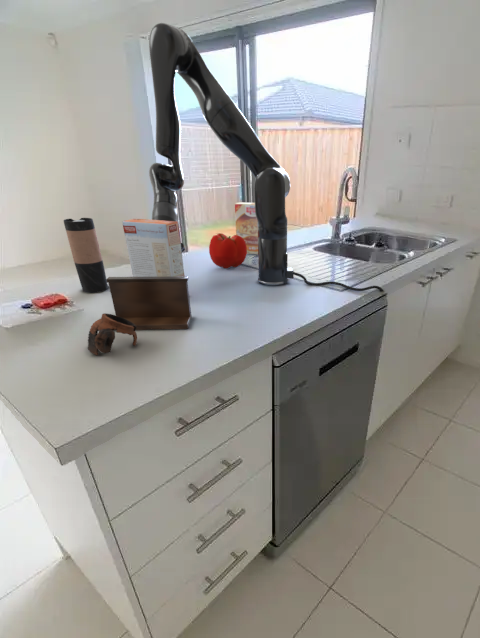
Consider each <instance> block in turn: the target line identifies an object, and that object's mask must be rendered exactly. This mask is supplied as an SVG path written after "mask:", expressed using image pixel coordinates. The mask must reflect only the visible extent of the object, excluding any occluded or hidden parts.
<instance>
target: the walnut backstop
mask: <svg viewBox="0 0 480 638" xmlns="http://www.w3.org/2000/svg"><path fill="white" fill-rule="evenodd" d="M106 280H107V284H108V289H109V292H110V297H111V301H112V305H113V309H114V313H115V314H114V315H116V316H119V317H122V318H124V319H126V320H128V321H130V322H132V323H134V324H135V325H136V326H137V328H136V330H135V331H144V330H145V331H146V330H148V331H149V330H151V331H152V330H153V331H155V330H188V329H189V328H190V325H191V321H192V318H193V316H192V309H191V308H192V307H191V299H190V292H189V283H188V282H189V276H188V275H185V276H164V277H133V276H109V277H106Z"/></svg>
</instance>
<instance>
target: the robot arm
mask: <svg viewBox="0 0 480 638" xmlns="http://www.w3.org/2000/svg"><path fill="white" fill-rule="evenodd" d="M148 38H149V40H148V49H149V58H150V59H149V60H150V67H151V75H152V85H153V86H152V87H153V94H154V95H153V96H154V103H155V104H154V105H155V106H154V107H155V151H156V153H157V154H158V155H160V156H162V157H164V158H166V159H167V160H169V161H170V162H171V163H172V165H170V164H165V163H161V162H153V163H152V164H151V165H150V166H149V169H148V177H149V181H150V184H151V187H152V191H153V192H152V193H153V206H152V213H151V220H163V221H177V222H178V223H179V221H178V217H179V216H178V195H177V193H176V192H179V191H181V190H182V189H183V188H184V186H185V185H184V184H185V177H184V173H183V167H182V161H181V137H182V136H181V135H182V134H181V133H182V131H181V130H182V127H181V120H180V115H179V110H178V105H177V102H176V95H175V79H176V73H177V74H178V75H179V77H181V78H182V79H183V81H184V82H185V83H186V85H187V86H188V87H189V88H190V89H191V90H192V92H193V94H194V96H195V97H196V99H197V102H198V105H199V108H200V111H201V113H202V116H203V118H204V120H205V122H206V123H207V125H208V126H209V128H210V129H211V131H212V132H213V133H214V135H215V136H216V137H217V139H218V140H219V141H220V142H221V143H222V144H223V145H224V146H225V148H226V149H227V150H229V151H230V152H231V153H232V154H233V155H234V156H235V157H236V158H238V159H239V161H241V162H242V163H243V164H244V165H245V166H246V167H247V168H248V170H249V171H250V173H251V174H252V175H253V177H254V178H255V180H254V184H253V185H254V186H253V193H254V194H253V197H254V203H255V214H256V218H257V223H258V255H257V261H258V263H257V268H258V275H257V276H258V279H257V280H258V281H257V282H258V283H259V284H261V285H264V286H281V285H288V279H294V276H296V277H299V278H302V280H303V281H304V284H306V285H308V286H326V285H336V286H340V287H342V288H345V289H348V290H350V291H354V292H365V291H368V290H369V291H370V290H373V289H376V290H379V291H380V292H384V289H383V288H382V287H380V286H378V285H370V286H365V287H361V288H360V287H353V286H350V285H347V284H345V283H342V282H339V281H331V280H330V281H322V282H316V283H315V282H310V281H308V280H307V278H306V276H304V275H303V274H302V273H298V272H295V271H294V269H293V267H288V259H289V258H288V217H287V214H286V213H287V212H286V198H287V197H288V195H289V193H290V190H291V181H290V180H291V179H290V177H289V174H288V173H287V172H286V171H285V169H284V168H283V167H282V166H281V165H280V164H279V163H278V162H277V161H276V160H275V159H274V157H273V156H272V155H271V154H270V152H269V151H268V150H267V149H266V148H265V146H264V144H263V143H262V141H261V140H260V139H259V138H260V137H258V135H257V133H256V131H255V130H254V129H253V128H252V126H251V125H250V123H249V122H248V120H247V119H246V117H245V115H244V114H243V113H242V111H241V110H240V108H239V107H238V106H237V104H236V103H235V102H234V100H233V99H232V97H230V95H229V94H228V92H227V91H226V90H225V89H224V87H223V86H222V84H221V83H220V82H219V80H218V79H217V78H216V77H215V76H214V74H213V73H212V72H211V70H210V68H209V67H208V65H207V63H206V62H205V60H204V58H203V57H202V55H201V53H200V52H199V50H198V48H197V47H196V45H195V44H194V41H193V39H192V38H191V37H190V35H188V34H187V32H186V31H184V30H183V28H180V27H177V26H174V25H172V24H169V23H165V22H158V23H156V24H155V25H154V26H153V27H152V28H151V30H150V33H149V37H148ZM180 243H181V251H182V253H184V252H185V251H186V247H185V244H184V243H183V242H180Z"/></svg>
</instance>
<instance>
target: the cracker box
mask: <svg viewBox="0 0 480 638" xmlns="http://www.w3.org/2000/svg"><path fill="white" fill-rule="evenodd" d="M121 222H122V229H123V234H124V238H125V244H126V248H127V254H128V260H129V265H130V270H131V275H132V277H164V276H186V275H185V269H184V260H183V252H182V251H181V243H182V242H181V237H180V227H179V221H178V222H177V221H163V220H152V219H148V218H130V219H127V220H123V221H121Z"/></svg>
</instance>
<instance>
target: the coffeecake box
mask: <svg viewBox="0 0 480 638" xmlns="http://www.w3.org/2000/svg"><path fill="white" fill-rule="evenodd" d="M234 218H235V220H234V221H235V235H237V236H241V237H242V238H243V239H244V241H245V243H246V246H247V255H257V256H258V223H257V218H256V214H255V202H244V201H243V202H242V201H241V202H240V201H239V202H235V203H234Z"/></svg>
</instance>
